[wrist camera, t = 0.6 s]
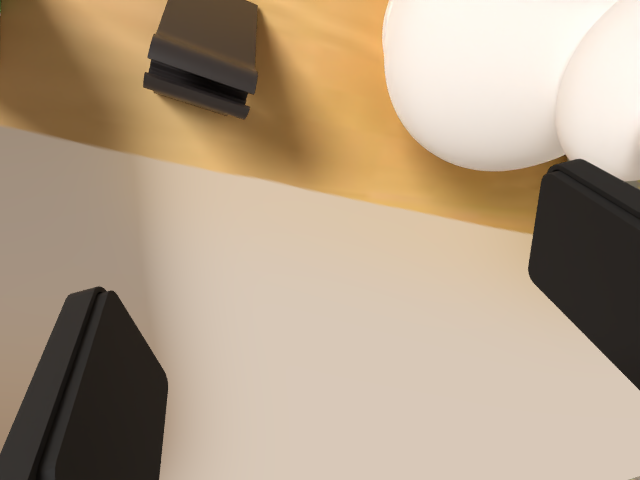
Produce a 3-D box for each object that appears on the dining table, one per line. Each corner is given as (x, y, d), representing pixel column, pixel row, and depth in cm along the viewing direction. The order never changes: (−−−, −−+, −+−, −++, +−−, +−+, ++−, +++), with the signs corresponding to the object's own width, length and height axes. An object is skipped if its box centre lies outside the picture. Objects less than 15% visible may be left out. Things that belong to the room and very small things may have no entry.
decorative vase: (463, 155, 44) (679, 322, 24) (315, 78, 37) (443, 223, 16) (585, -22, 37) (1045, -2, 17) (432, -162, 30) (919, -436, 9)
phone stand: (178, -30, 31) (162, -26, 21) (257, 5, 33) (276, 23, 23) (154, 91, 35) (130, 142, 25) (226, 114, 37) (231, 170, 27)
